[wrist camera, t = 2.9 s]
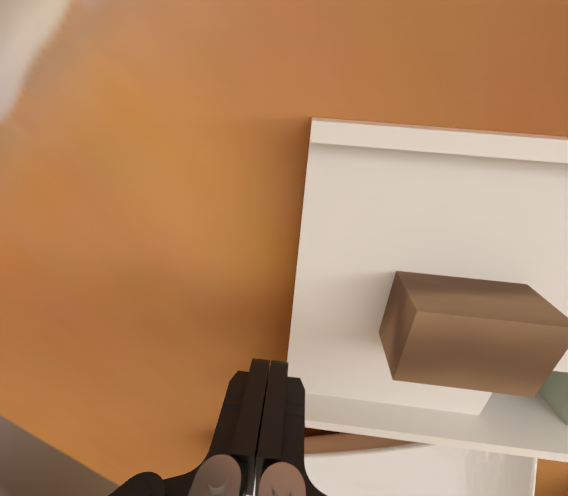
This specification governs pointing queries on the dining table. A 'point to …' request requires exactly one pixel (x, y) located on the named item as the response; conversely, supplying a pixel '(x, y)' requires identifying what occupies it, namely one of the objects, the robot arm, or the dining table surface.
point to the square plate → (412, 468)
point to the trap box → (429, 260)
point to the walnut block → (471, 334)
